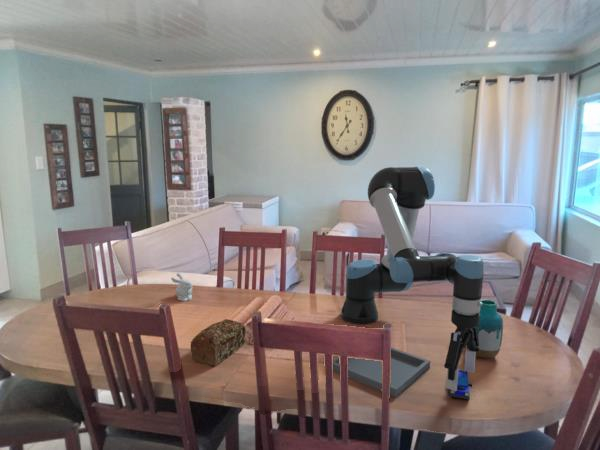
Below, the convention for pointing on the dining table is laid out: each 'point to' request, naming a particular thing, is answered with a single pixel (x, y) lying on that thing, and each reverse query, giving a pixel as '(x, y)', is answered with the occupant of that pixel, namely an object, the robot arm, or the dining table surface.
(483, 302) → the vase
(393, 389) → the tray
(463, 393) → the toy car
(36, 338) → the dining table surface
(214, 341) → the bread
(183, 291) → the rabbit
